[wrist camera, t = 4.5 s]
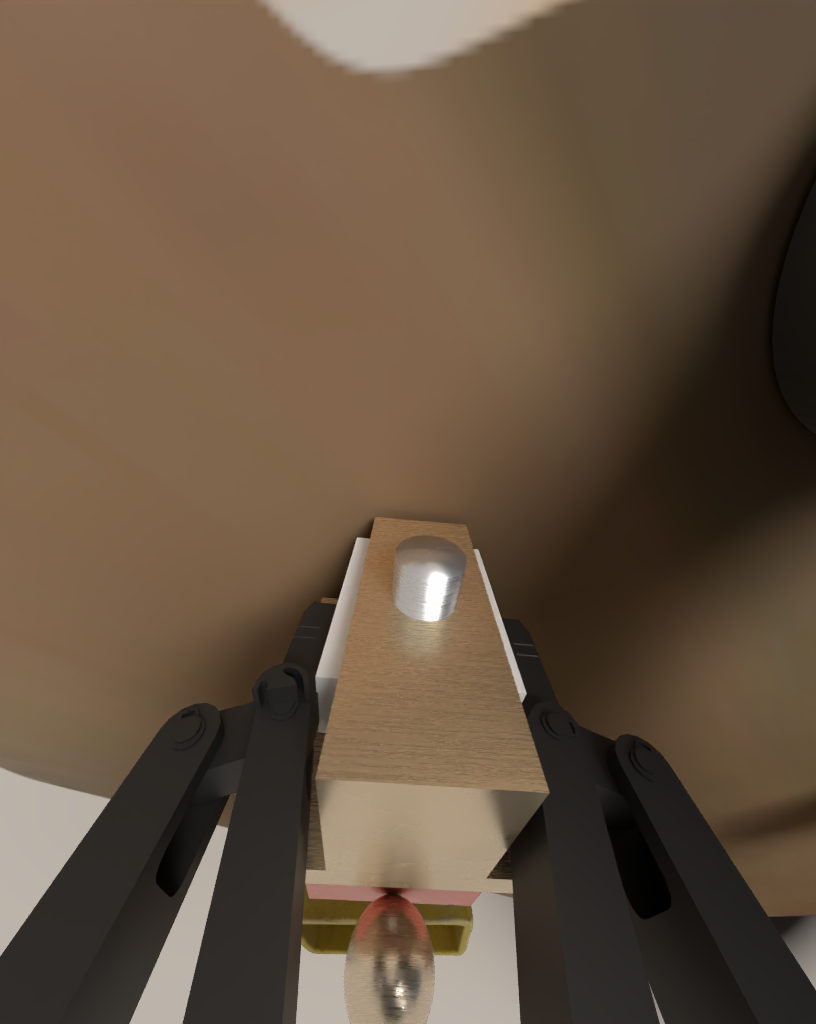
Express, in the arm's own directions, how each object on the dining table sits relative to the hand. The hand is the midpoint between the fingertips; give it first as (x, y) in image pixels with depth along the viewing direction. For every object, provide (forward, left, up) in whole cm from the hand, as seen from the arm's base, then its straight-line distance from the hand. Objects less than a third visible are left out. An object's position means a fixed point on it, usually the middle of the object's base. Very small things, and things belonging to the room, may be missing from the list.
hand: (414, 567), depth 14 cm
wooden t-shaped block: (0, +3, 0) cm, 3 cm away
